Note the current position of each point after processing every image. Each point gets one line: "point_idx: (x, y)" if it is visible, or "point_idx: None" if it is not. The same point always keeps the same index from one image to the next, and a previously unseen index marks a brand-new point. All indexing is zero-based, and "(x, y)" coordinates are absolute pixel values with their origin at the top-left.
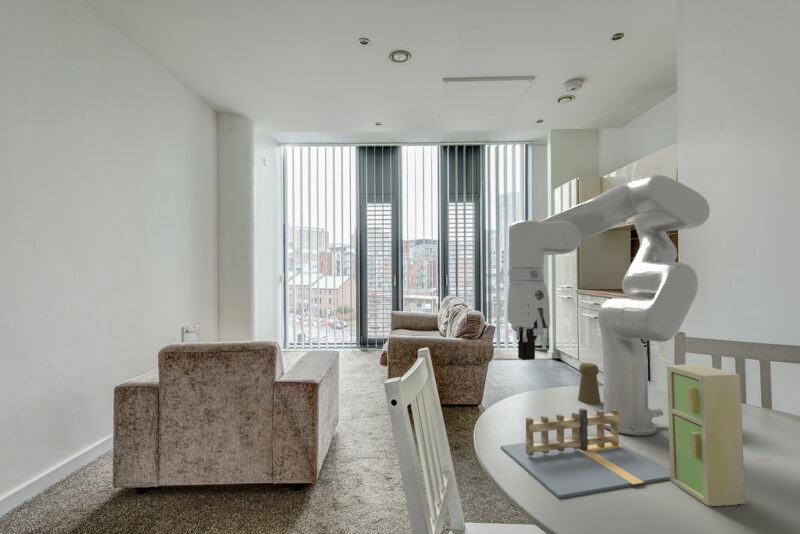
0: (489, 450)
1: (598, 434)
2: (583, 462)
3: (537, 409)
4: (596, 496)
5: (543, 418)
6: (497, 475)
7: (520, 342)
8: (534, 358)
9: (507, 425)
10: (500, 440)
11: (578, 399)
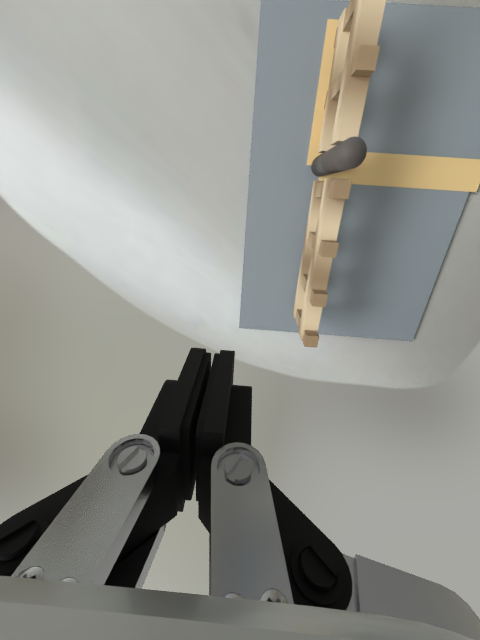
0: (240, 347)
1: (338, 98)
2: (364, 219)
3: (21, 61)
4: (442, 282)
5: (322, 305)
6: (316, 377)
7: (190, 498)
8: (233, 352)
9: (137, 247)
10: (208, 307)
11: None
